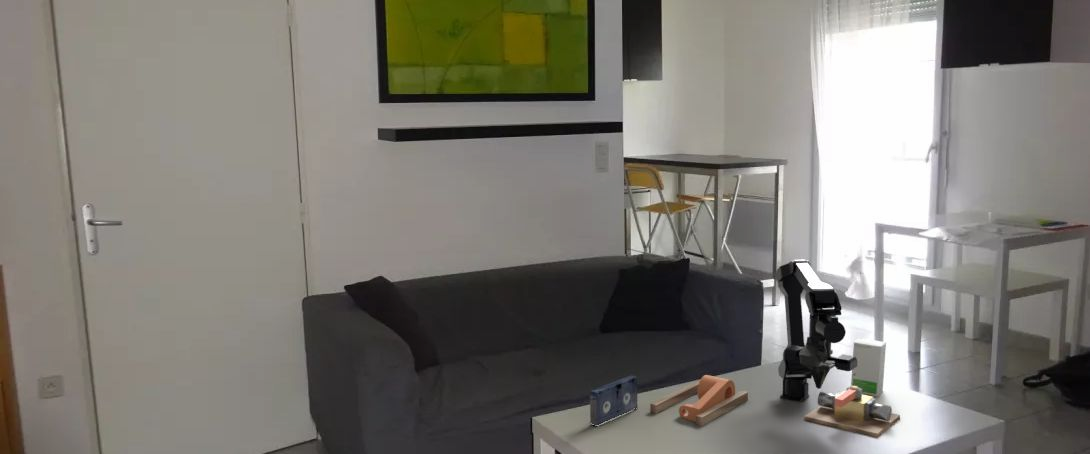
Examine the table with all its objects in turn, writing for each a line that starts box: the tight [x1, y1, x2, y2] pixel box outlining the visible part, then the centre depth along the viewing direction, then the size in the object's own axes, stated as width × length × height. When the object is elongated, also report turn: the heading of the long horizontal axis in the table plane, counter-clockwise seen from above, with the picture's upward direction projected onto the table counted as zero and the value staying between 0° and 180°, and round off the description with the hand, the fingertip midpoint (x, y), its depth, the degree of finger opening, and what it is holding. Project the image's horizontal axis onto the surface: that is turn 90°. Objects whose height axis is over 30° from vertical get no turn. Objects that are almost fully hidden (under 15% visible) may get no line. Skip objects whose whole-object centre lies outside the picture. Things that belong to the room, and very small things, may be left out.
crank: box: [678, 374, 736, 422], centre depth 236 cm, size 20×8×8 cm, turn 138°
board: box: [803, 405, 901, 438], centre depth 227 cm, size 20×17×1 cm
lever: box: [835, 385, 863, 407], centre depth 223 cm, size 13×4×3 cm, turn 138°
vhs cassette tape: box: [589, 374, 638, 425], centre depth 231 cm, size 18×3×10 cm, turn 134°
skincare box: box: [850, 337, 887, 398], centre depth 248 cm, size 8×7×16 cm
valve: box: [817, 390, 893, 421], centre depth 227 cm, size 19×7×5 cm, turn 48°
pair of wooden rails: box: [649, 380, 749, 427], centre depth 239 cm, size 17×26×2 cm, turn 138°
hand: (818, 388), depth 224 cm, fingers closed
